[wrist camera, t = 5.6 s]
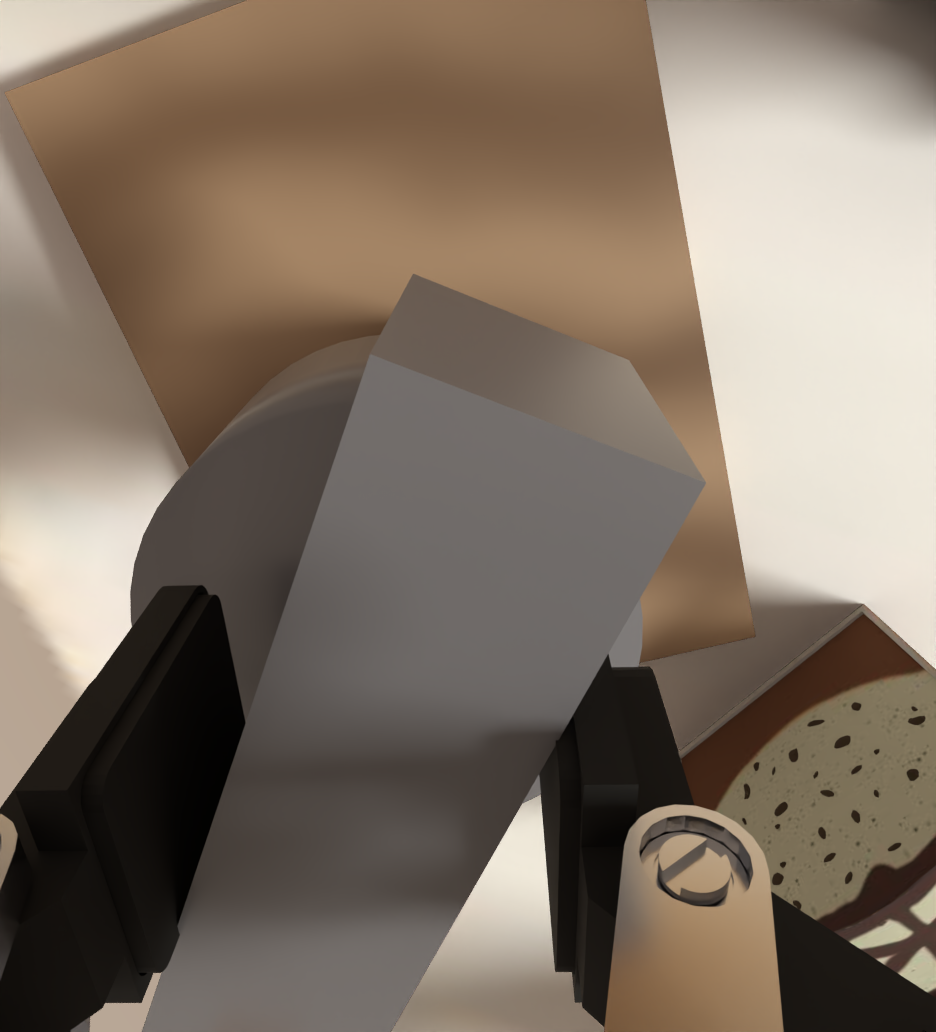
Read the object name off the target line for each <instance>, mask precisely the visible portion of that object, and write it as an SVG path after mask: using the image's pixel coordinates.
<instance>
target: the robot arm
mask: <svg viewBox="0 0 936 1032" xmlns="http://www.w3.org/2000/svg"><path fill="white" fill-rule="evenodd" d="M245 724H246V722H245V717H244V712H243V707H242V702H241V697H240V693H239V688H238V683H237V678H236V673H235V668H234V663H233V658H232V654H231V649H230V644H229V639H228V634H227V629H226V624H225V619H224V615H223V610H222V605H221V601H220V599H219V597H218V596H217V595H209V594H208V591H207V589H206V588H205V587H204V586H203V585H179V586H162V587H161V588H160V589H159V590H158V592H157V593H156V595H155V596H154V597H153V599H152V600H151V601H150V603H149V604H148V606H147V607H146V608H145V610H144V611H143V613H142V614H141V615H140V617H139V618H138V620H137V621H136V622H135V624H134V625H133V627H132V628H131V629H130V631H129V632H128V634H127V635H126V636H125V638H124V639H123V641H122V642H121V643H120V645H119V646H118V648H117V649H116V650H115V652H114V653H113V655H112V656H111V657H110V659H109V660H108V661H107V663H106V664H105V666H104V667H103V668H102V670H101V671H100V673H99V674H98V675H97V677H96V678H95V679H94V680H93V681H92V682H91V683H90V684H89V686H88V687H87V688H86V690H85V691H84V693H83V694H82V695H81V697H80V698H79V699H78V701H77V702H76V704H75V705H74V706H73V708H72V709H71V711H70V712H69V714H68V715H67V716H66V718H65V719H64V720H63V722H62V723H61V725H60V726H59V727H58V729H57V730H56V732H55V733H54V734H53V736H52V737H51V738H50V740H49V741H48V743H47V744H46V745H45V747H44V748H43V750H42V751H41V752H40V754H39V755H38V756H37V758H36V759H35V761H34V762H33V763H32V765H31V766H30V768H29V769H28V770H27V772H26V773H25V774H24V776H23V777H22V779H21V780H20V781H19V783H18V784H17V786H16V787H15V789H14V790H13V791H12V793H11V794H10V795H9V797H8V798H7V800H6V801H5V802H4V804H3V805H2V806H1V808H0V1032H89V1028H90V1016H92V1015H93V1014H94V1013H96V1012H97V1011H99V1010H100V1009H102V1008H103V1006H104V1004H105V1003H142V1000H143V998H144V995H145V993H146V990H147V988H148V985H149V982H150V980H151V978H152V975H153V973H161V972H163V971H164V970H165V969H166V968H167V966H168V964H169V962H170V960H171V957H172V955H173V952H174V949H175V947H176V944H177V941H178V939H179V936H180V934H179V930H178V927H177V926H178V923H179V920H180V917H181V914H182V911H183V908H184V905H185V902H186V899H187V896H188V893H189V890H190V887H191V884H192V881H193V878H194V875H195V872H196V869H197V866H198V863H199V860H200V858H201V855H202V852H203V849H204V846H205V843H206V840H207V837H208V834H209V831H210V828H211V825H212V822H213V819H214V816H215V813H216V810H217V807H218V804H219V801H220V798H221V795H222V792H223V789H224V786H225V783H226V780H227V777H228V774H229V771H230V768H231V765H232V762H233V759H234V756H235V753H236V751H237V748H238V745H239V742H240V739H241V736H242V733H243V730H244V727H245ZM539 777H540V790H541V802H542V815H543V827H544V840H545V852H546V865H547V877H548V890H549V902H550V915H551V927H552V940H553V952H554V964H555V971H556V972H572V977H573V987H574V997H575V1002H582V1006H583V1008H584V1009H585V1010H586V1011H587V1012H588V1013H589V1014H590V1015H592V1016H593V1017H594V1018H595V1019H596V1020H597V1021H598V1022H599V1023H600V1024H601V1025H603V1026H604V1032H936V998H935V997H934V996H932V995H930V994H929V993H927V992H926V991H924V990H923V989H921V988H920V987H918V986H917V985H915V984H913V983H912V982H910V981H909V980H907V979H906V978H904V977H903V976H901V975H900V974H898V973H897V972H895V971H893V970H892V969H890V968H889V967H887V966H886V965H884V964H883V963H881V962H880V961H878V960H876V959H875V958H873V957H872V956H870V955H869V954H867V953H866V952H864V951H863V950H861V949H859V948H858V947H856V946H855V945H853V944H852V943H850V942H849V941H847V940H846V939H844V938H843V937H841V936H839V935H838V934H836V933H835V932H833V931H832V930H830V929H829V928H827V927H826V926H824V925H822V924H821V923H819V922H818V921H816V920H815V919H813V918H812V917H810V916H809V915H807V914H805V913H804V912H802V911H801V910H799V909H798V908H796V907H795V906H793V905H792V904H790V903H789V902H787V901H785V900H784V899H782V898H781V897H779V896H778V895H776V894H775V893H773V892H772V891H771V886H770V875H769V869H768V866H767V862H766V859H765V855H764V853H763V851H762V850H761V848H760V847H759V845H758V844H757V842H756V841H755V839H754V838H753V836H751V835H750V834H749V833H748V832H747V831H746V830H745V829H743V828H742V827H741V826H740V825H739V824H738V823H737V822H735V821H733V820H731V819H729V818H727V817H726V816H724V815H722V814H720V813H718V812H716V811H713V810H709V809H705V808H702V807H698V806H695V805H694V802H693V798H692V795H691V792H690V789H689V785H688V782H687V779H686V776H685V772H684V769H683V766H682V763H681V759H680V756H679V753H678V750H677V746H676V743H675V740H674V737H673V733H672V730H671V727H670V724H669V720H668V717H667V714H666V711H665V707H664V704H663V701H662V698H661V694H660V691H659V688H658V684H657V681H656V678H655V675H654V673H653V670H652V669H651V668H650V667H611V663H610V658H609V654H608V655H607V657H606V658H605V660H604V662H603V664H602V665H601V667H600V669H599V671H598V672H597V674H596V676H595V678H594V679H593V681H592V683H591V685H590V686H589V688H588V690H587V692H586V693H585V695H584V697H583V698H582V700H581V702H580V704H579V705H578V707H577V709H576V711H575V712H574V714H573V716H572V718H571V719H570V721H569V723H568V725H567V726H566V728H565V730H564V732H563V733H562V735H561V737H560V739H559V740H556V745H555V747H554V749H553V751H552V752H551V754H550V756H549V758H548V759H547V761H546V763H545V765H544V766H543V768H542V770H541V772H540V773H539Z"/></svg>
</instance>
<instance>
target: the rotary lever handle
mask: <svg viewBox="0 0 936 1032" xmlns="http://www.w3.org/2000/svg"><path fill="white" fill-rule="evenodd" d="M705 484H706V481H705V480H704V478H703V477H702V475H701V474H700V472H699V470H698V469H697V467H696V466H695V464H694V462H693V461H692V459H691V458H690V456H689V454H688V453H687V451H686V450H685V448H684V447H683V445H682V443H681V442H680V440H679V439H678V437H677V435H676V434H675V432H674V431H673V429H672V427H671V426H670V424H669V423H668V421H667V419H666V418H665V416H664V415H663V413H662V412H661V410H660V408H659V407H658V405H657V404H656V402H655V400H654V399H653V397H652V396H651V394H650V392H649V391H648V389H647V388H646V386H645V385H644V383H643V381H642V380H641V378H640V377H639V375H638V373H637V372H636V370H635V369H634V367H633V365H632V364H631V362H630V361H629V360H627V359H625V358H622V357H620V356H617V355H615V354H612V353H610V352H607V351H605V350H602V349H600V348H597V347H595V346H592V345H590V344H587V343H585V342H582V341H580V340H578V339H575V338H573V337H570V336H568V335H565V334H563V333H560V332H558V331H555V330H553V329H550V328H548V327H545V326H543V325H540V324H538V323H535V322H533V321H530V320H528V319H525V318H523V317H520V316H518V315H515V314H513V313H510V312H508V311H505V310H503V309H500V308H498V307H495V306H493V305H490V304H488V303H485V302H483V301H480V300H478V299H475V298H473V297H470V296H468V295H465V294H463V293H460V292H458V291H455V290H453V289H450V288H448V287H446V286H443V285H441V284H438V283H436V282H433V281H431V280H428V279H426V278H423V277H421V276H418V275H416V274H413V275H412V277H411V278H410V280H409V282H408V284H407V286H406V288H405V290H404V291H403V293H402V295H401V297H400V299H399V301H398V303H397V304H396V306H395V308H394V310H393V312H392V314H391V316H390V318H389V319H388V321H387V323H386V325H385V327H384V329H383V331H382V332H381V334H380V335H375V336H367V337H362V338H357V339H353V340H348V341H344V342H340V343H337V344H335V345H332V346H329V347H326V348H324V349H321V350H318V351H316V352H314V353H312V354H310V355H308V356H306V357H304V358H302V359H301V360H299V361H297V362H295V363H293V364H291V365H290V366H288V367H287V368H286V369H284V370H283V371H282V372H280V373H279V374H278V375H276V376H275V377H274V378H272V379H271V380H270V381H269V382H268V383H267V384H266V385H265V386H264V387H263V388H262V389H261V390H260V391H259V392H258V393H257V394H256V395H255V396H254V397H253V398H252V399H251V400H250V401H249V402H248V403H247V404H246V405H245V406H244V407H243V409H242V410H241V411H240V412H239V413H238V414H237V415H236V416H235V418H234V419H233V420H232V421H231V422H230V423H229V424H228V425H227V426H226V428H225V429H224V430H223V431H222V432H221V433H220V434H219V435H218V436H217V438H216V439H215V440H214V441H213V442H212V443H211V444H210V445H209V447H208V448H207V449H206V450H205V451H204V452H203V453H202V454H201V455H200V457H199V458H198V459H197V460H196V461H195V462H194V463H193V464H192V466H191V467H190V468H189V469H188V470H187V471H186V472H185V473H184V474H183V476H182V477H181V478H180V479H179V480H178V481H177V482H176V483H175V485H174V486H173V487H172V489H171V490H170V492H169V493H168V494H167V496H166V497H165V498H164V500H163V501H162V502H161V504H160V505H159V507H158V508H157V510H156V512H155V513H154V515H153V517H152V519H151V521H150V523H149V525H148V527H147V529H146V531H145V533H144V535H143V538H142V541H141V544H140V548H139V551H138V554H137V557H136V560H135V563H134V570H133V577H132V584H131V591H130V596H131V623H132V627H133V625H134V624H135V622H136V621H137V620H138V618H139V617H140V615H141V614H142V613H143V611H144V610H145V608H146V607H147V606H148V604H149V603H150V601H151V600H152V599H153V597H154V596H155V595H156V593H157V592H158V590H159V589H160V588H161V587H162V586H179V585H203V586H204V587H205V588H206V589H207V591H208V594H209V595H217V596H218V597H219V599H220V601H221V605H222V610H223V615H224V619H225V624H226V629H227V634H228V639H229V644H230V649H231V654H232V658H233V663H234V668H235V673H236V678H237V683H238V688H239V693H240V697H241V702H242V707H243V712H244V717H245V722H246V724H245V727H244V730H243V733H242V736H241V739H240V742H239V745H238V748H237V751H236V753H235V756H234V759H233V762H232V765H231V768H230V771H229V774H228V777H227V780H226V783H225V786H224V789H223V792H222V795H221V798H220V801H219V804H218V807H217V810H216V813H215V816H214V819H213V822H212V825H211V828H210V831H209V834H208V837H207V840H206V843H205V846H204V849H203V852H202V855H201V858H200V860H199V863H198V866H197V869H196V872H195V875H194V878H193V881H192V884H191V887H190V890H189V893H188V896H187V899H186V902H185V905H184V908H183V911H182V914H181V917H180V920H179V923H178V926H177V927H178V930H179V934H180V936H179V939H178V941H177V944H176V947H175V949H174V952H173V955H172V957H171V960H170V962H169V964H168V966H167V968H166V969H165V970H164V971H163V972H162V973H161V977H160V979H159V982H158V985H157V988H156V991H155V994H154V997H153V1001H152V1003H151V1006H150V1009H149V1012H148V1015H147V1018H146V1021H145V1024H144V1027H143V1030H142V1032H391V1031H392V1029H393V1027H394V1026H395V1024H396V1022H397V1021H398V1019H399V1017H400V1015H401V1014H402V1012H403V1010H404V1008H405V1007H406V1005H407V1003H408V1001H409V1000H410V998H411V996H412V994H413V993H414V991H415V989H416V987H417V986H418V984H419V982H420V980H421V979H422V977H423V975H424V974H425V972H426V970H427V968H428V967H429V965H430V963H431V961H432V960H433V958H434V956H435V954H436V953H437V951H438V949H439V947H440V946H441V944H442V942H443V940H444V939H445V937H446V935H447V933H448V932H449V930H450V928H451V927H452V925H453V923H454V921H455V920H456V918H457V916H458V914H459V913H460V911H461V909H462V907H463V906H464V904H465V902H466V900H467V899H468V897H469V895H470V893H471V892H472V890H473V888H474V886H475V885H476V883H477V881H478V880H479V878H480V876H481V874H482V873H483V871H484V869H485V867H486V866H487V864H488V862H489V860H490V859H491V857H492V855H493V853H494V852H495V850H496V848H497V846H498V845H499V843H500V841H501V839H502V838H503V836H504V834H505V833H506V831H507V829H508V827H509V826H510V824H511V822H512V820H513V819H514V817H515V815H516V813H517V812H518V810H519V808H520V806H521V805H522V803H524V802H527V801H529V800H531V799H533V798H535V797H537V796H539V795H540V794H541V790H540V777H539V773H540V772H541V770H542V768H543V766H544V765H545V763H546V761H547V759H548V758H549V756H550V754H551V752H552V751H553V749H554V747H555V745H556V740H559V739H560V737H561V735H562V733H563V732H564V730H565V728H566V726H567V725H568V723H569V721H570V719H571V718H572V716H573V714H574V712H575V711H576V709H577V707H578V705H579V704H580V702H581V700H582V698H583V697H584V695H585V693H586V692H587V690H588V688H589V686H590V685H591V683H592V681H593V679H594V678H595V676H596V674H597V672H598V671H599V669H600V667H601V665H602V664H603V662H604V660H605V658H606V657H607V655H608V654H609V658H610V663H611V667H639V661H640V656H641V650H642V630H643V616H642V609H641V602H640V598H641V596H642V594H643V592H644V591H645V589H646V587H647V585H648V584H649V582H650V580H651V578H652V577H653V575H654V573H655V571H656V570H657V568H658V566H659V564H660V563H661V561H662V559H663V557H664V556H665V554H666V552H667V551H668V549H669V547H670V545H671V544H672V542H673V540H674V538H675V537H676V535H677V533H678V531H679V530H680V528H681V526H682V524H683V523H684V521H685V519H686V517H687V516H688V514H689V512H690V510H691V509H692V507H693V505H694V504H695V502H696V500H697V498H698V497H699V495H700V493H701V491H702V490H703V488H704V486H705Z"/></svg>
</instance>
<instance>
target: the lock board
mask: <svg viewBox="0 0 936 1032" xmlns="http://www.w3.org/2000/svg"><path fill="white" fill-rule="evenodd" d="M5 95H6V97H7V99H8V101H9V103H10V105H11V107H12V109H13V111H14V113H15V115H16V117H17V119H18V121H19V123H20V125H21V127H22V129H23V131H24V133H25V135H26V137H27V139H28V141H29V144H30V146H31V148H32V150H33V152H34V154H35V156H36V158H37V160H38V162H39V164H40V166H41V168H42V170H43V172H44V174H45V176H46V178H47V180H48V182H49V184H50V186H51V188H52V190H53V192H54V194H55V196H56V198H57V200H58V202H59V204H60V206H61V208H62V210H63V212H64V214H65V216H66V219H67V221H68V223H69V225H70V227H71V229H72V231H73V233H74V235H75V237H76V239H77V241H78V243H79V245H80V247H81V249H82V251H83V253H84V255H85V257H86V259H87V261H88V263H89V265H90V267H91V269H92V271H93V273H94V275H95V277H96V279H97V281H98V283H99V285H100V287H101V289H102V292H103V294H104V296H105V298H106V300H107V302H108V304H109V306H110V308H111V310H112V312H113V314H114V316H115V318H116V320H117V322H118V324H119V326H120V328H121V330H122V332H123V334H124V336H125V338H126V340H127V342H128V344H129V346H130V348H131V350H132V352H133V354H134V356H135V358H136V360H137V362H138V365H139V367H140V369H141V371H142V373H143V375H144V377H145V379H146V381H147V383H148V385H149V387H150V389H151V391H152V393H153V395H154V397H155V399H156V401H157V403H158V405H159V407H160V409H161V411H162V413H163V415H164V417H165V419H166V421H167V423H168V425H169V427H170V429H171V431H172V433H173V435H174V437H175V440H176V442H177V444H178V446H179V448H180V450H181V452H182V454H183V456H184V458H185V460H186V462H187V464H188V466H189V468H190V467H191V466H192V464H193V463H194V462H195V461H196V460H197V459H198V458H199V457H200V455H201V454H202V453H203V452H204V451H205V450H206V449H207V448H208V447H209V445H210V444H211V443H212V442H213V441H214V440H215V439H216V438H217V436H218V435H219V434H220V433H221V432H222V431H223V430H224V429H225V428H226V426H227V425H228V424H229V423H230V422H231V421H232V420H233V419H234V418H235V416H236V415H237V414H238V413H239V412H240V411H241V410H242V409H243V407H244V406H245V405H246V404H247V403H248V402H249V401H250V400H251V399H252V398H253V397H254V396H255V395H256V394H257V393H258V392H259V391H260V390H261V389H262V388H263V387H264V386H265V385H266V384H267V383H268V382H269V381H270V380H271V379H272V378H274V377H275V376H276V375H278V374H279V373H280V372H282V371H283V370H284V369H286V368H287V367H288V366H290V365H291V364H293V363H295V362H297V361H299V360H301V359H302V358H304V357H306V356H308V355H310V354H312V353H314V352H316V351H318V350H321V349H324V348H326V347H329V346H332V345H335V344H337V343H340V342H344V341H348V340H353V339H357V338H362V337H367V336H375V335H380V334H381V332H382V331H383V329H384V327H385V325H386V323H387V321H388V319H389V318H390V316H391V314H392V312H393V310H394V308H395V306H396V304H397V303H398V301H399V299H400V297H401V295H402V293H403V291H404V290H405V288H406V286H407V284H408V282H409V280H410V278H411V277H412V275H413V274H416V275H418V276H421V277H423V278H426V279H428V280H431V281H433V282H436V283H438V284H441V285H443V286H446V287H448V288H450V289H453V290H455V291H458V292H460V293H463V294H465V295H468V296H470V297H473V298H475V299H478V300H480V301H483V302H485V303H488V304H490V305H493V306H495V307H498V308H500V309H503V310H505V311H508V312H510V313H513V314H515V315H518V316H520V317H523V318H525V319H528V320H530V321H533V322H535V323H538V324H540V325H543V326H545V327H548V328H550V329H553V330H555V331H558V332H560V333H563V334H565V335H568V336H570V337H573V338H575V339H578V340H580V341H582V342H585V343H587V344H590V345H592V346H595V347H597V348H600V349H602V350H605V351H607V352H610V353H612V354H615V355H617V356H620V357H622V358H625V359H627V360H629V361H630V362H631V364H632V365H633V367H634V369H635V370H636V372H637V373H638V375H639V377H640V378H641V380H642V381H643V383H644V385H645V386H646V388H647V389H648V391H649V392H650V394H651V396H652V397H653V399H654V400H655V402H656V404H657V405H658V407H659V408H660V410H661V412H662V413H663V415H664V416H665V418H666V419H667V421H668V423H669V424H670V426H671V427H672V429H673V431H674V432H675V434H676V435H677V437H678V439H679V440H680V442H681V443H682V445H683V447H684V448H685V450H686V451H687V453H688V454H689V456H690V458H691V459H692V461H693V462H694V464H695V466H696V467H697V469H698V470H699V472H700V474H701V475H702V477H703V478H704V480H705V481H706V484H705V486H704V488H703V490H702V491H701V493H700V495H699V497H698V498H697V500H696V502H695V504H694V505H693V507H692V509H691V510H690V512H689V514H688V516H687V517H686V519H685V521H684V523H683V524H682V526H681V528H680V530H679V531H678V533H677V535H676V537H675V538H674V540H673V542H672V544H671V545H670V547H669V549H668V551H667V552H666V554H665V556H664V557H663V559H662V561H661V563H660V564H659V566H658V568H657V570H656V571H655V573H654V575H653V577H652V578H651V580H650V582H649V584H648V585H647V587H646V589H645V591H644V592H643V594H642V596H641V598H640V602H641V609H642V616H643V630H642V650H641V656H640V661H639V663H641V662H646V661H650V660H655V659H659V658H663V657H668V656H672V655H677V654H681V653H686V652H690V651H694V650H699V649H703V648H708V647H712V646H716V645H721V644H725V643H730V642H734V641H739V640H743V639H747V638H752V637H755V631H754V625H753V619H752V614H751V608H750V602H749V596H748V590H747V585H746V579H745V573H744V567H743V561H742V556H741V550H740V544H739V538H738V532H737V527H736V521H735V515H734V509H733V503H732V498H731V492H730V486H729V480H728V474H727V469H726V463H725V457H724V451H723V445H722V440H721V434H720V428H719V422H718V416H717V411H716V405H715V399H714V393H713V387H712V382H711V376H710V370H709V364H708V358H707V353H706V347H705V341H704V335H703V329H702V324H701V318H700V312H699V306H698V300H697V295H696V289H695V283H694V277H693V271H692V266H691V260H690V254H689V248H688V242H687V237H686V231H685V225H684V219H683V213H682V208H681V202H680V196H679V190H678V184H677V179H676V173H675V167H674V161H673V155H672V150H671V144H670V138H669V132H668V126H667V121H666V115H665V109H664V103H663V97H662V92H661V86H660V80H659V74H658V68H657V63H656V57H655V51H654V45H653V39H652V34H651V28H650V22H649V16H648V10H647V5H646V0H246V1H244V2H241V3H238V4H236V5H233V6H230V7H228V8H225V9H223V10H220V11H217V12H215V13H212V14H209V15H207V16H204V17H202V18H199V19H196V20H194V21H191V22H188V23H186V24H183V25H180V26H178V27H175V28H173V29H170V30H167V31H165V32H162V33H159V34H157V35H154V36H152V37H149V38H146V39H144V40H141V41H138V42H136V43H133V44H131V45H128V46H125V47H123V48H120V49H117V50H115V51H112V52H110V53H107V54H104V55H102V56H99V57H96V58H94V59H91V60H89V61H86V62H83V63H81V64H78V65H75V66H73V67H70V68H68V69H65V70H62V71H60V72H57V73H54V74H52V75H49V76H47V77H44V78H41V79H39V80H36V81H33V82H31V83H28V84H26V85H23V86H20V87H18V88H15V89H12V90H10V91H7V92H5Z"/></svg>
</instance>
